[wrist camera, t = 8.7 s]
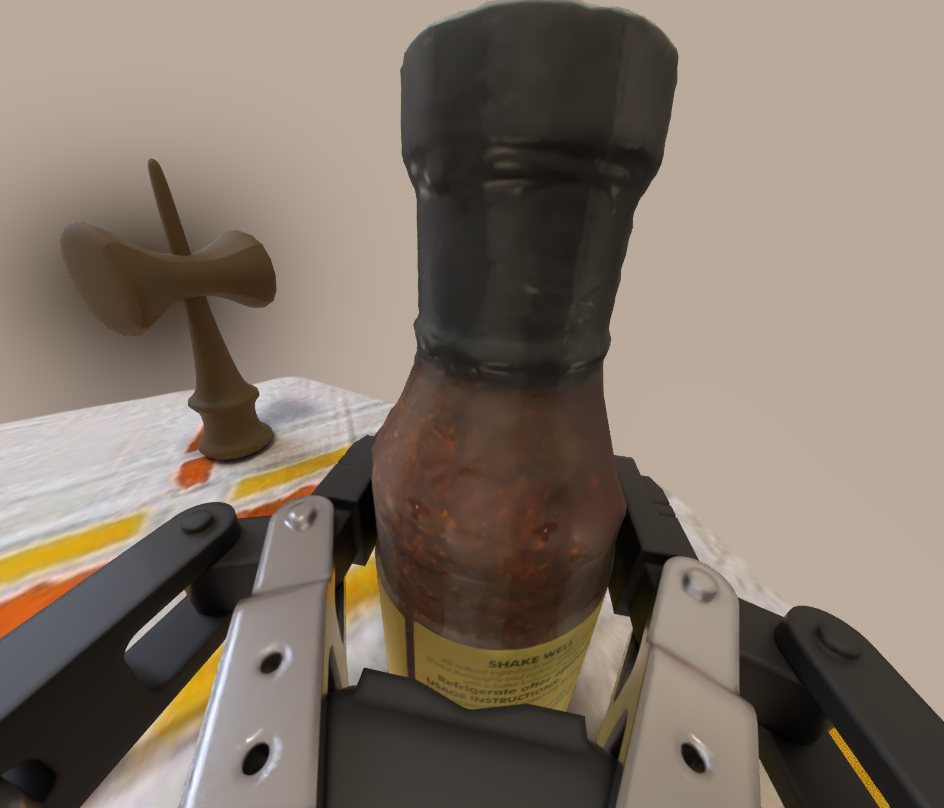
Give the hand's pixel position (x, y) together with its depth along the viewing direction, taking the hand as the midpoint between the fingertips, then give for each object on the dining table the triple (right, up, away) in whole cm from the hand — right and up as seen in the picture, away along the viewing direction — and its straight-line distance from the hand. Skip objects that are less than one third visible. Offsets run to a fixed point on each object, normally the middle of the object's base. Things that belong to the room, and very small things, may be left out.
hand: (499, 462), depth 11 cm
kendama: (-21, -2, +18) cm, 27 cm away
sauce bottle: (-1, -11, +3) cm, 11 cm away
